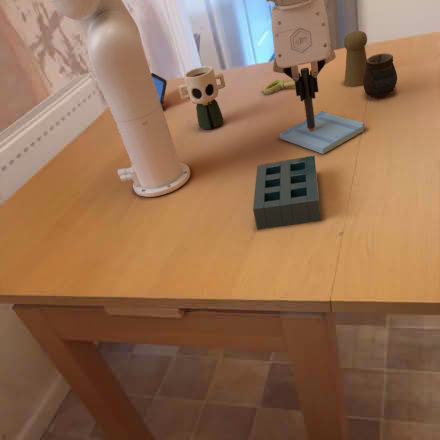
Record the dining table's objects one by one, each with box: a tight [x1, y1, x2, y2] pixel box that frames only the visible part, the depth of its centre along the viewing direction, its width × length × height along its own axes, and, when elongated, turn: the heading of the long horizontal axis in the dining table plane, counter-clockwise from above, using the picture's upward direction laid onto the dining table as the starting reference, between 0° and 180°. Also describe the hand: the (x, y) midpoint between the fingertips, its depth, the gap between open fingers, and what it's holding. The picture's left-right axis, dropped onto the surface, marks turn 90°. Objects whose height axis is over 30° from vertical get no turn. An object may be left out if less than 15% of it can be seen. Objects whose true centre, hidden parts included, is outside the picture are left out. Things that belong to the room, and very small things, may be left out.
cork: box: [343, 30, 368, 87], centre depth 112 cm, size 6×6×11 cm
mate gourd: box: [362, 52, 398, 99], centre depth 104 cm, size 7×8×10 cm
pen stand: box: [252, 155, 322, 230], centre depth 82 cm, size 11×15×4 cm
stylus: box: [299, 67, 315, 132], centre depth 95 cm, size 2×2×13 cm
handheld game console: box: [151, 72, 168, 111], centre depth 135 cm, size 12×11×7 cm
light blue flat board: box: [279, 110, 366, 155], centre depth 99 cm, size 14×12×1 cm
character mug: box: [178, 65, 226, 130], centre depth 113 cm, size 11×7×13 cm, turn 97°
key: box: [262, 77, 295, 95], centre depth 124 cm, size 7×12×2 cm, turn 73°
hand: (307, 96), depth 95 cm, fingers closed on stylus, 1 cm apart
